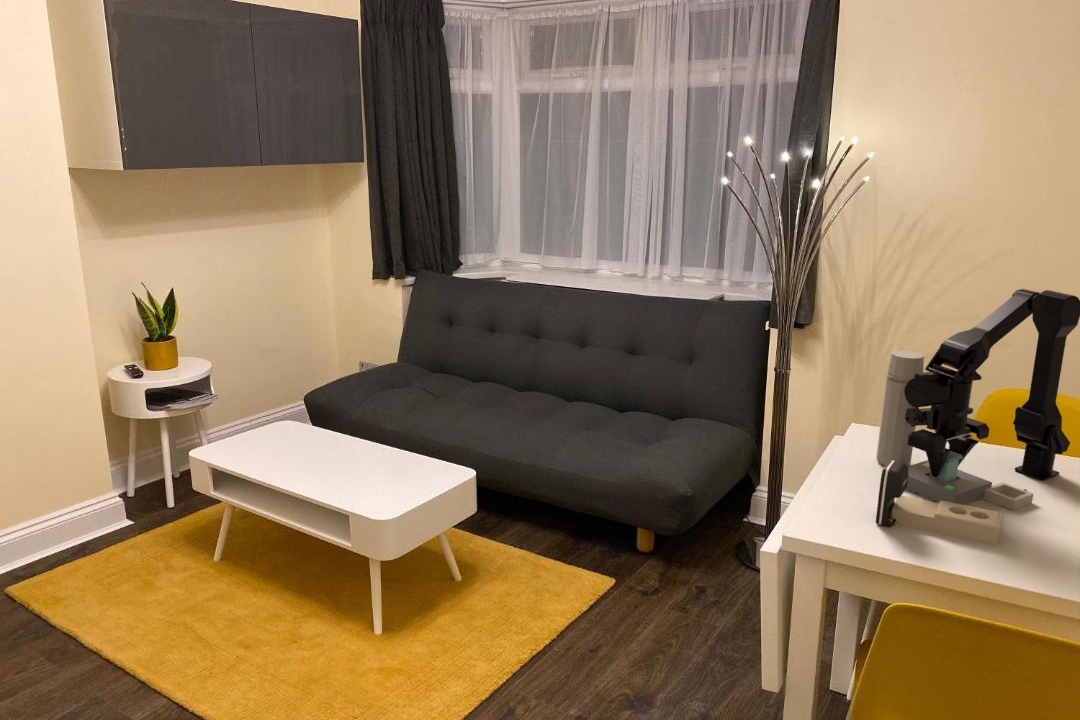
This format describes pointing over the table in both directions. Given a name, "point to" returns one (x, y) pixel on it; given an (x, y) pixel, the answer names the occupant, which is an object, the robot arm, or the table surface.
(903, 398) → the water bottle
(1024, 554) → the table surface
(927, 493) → the port panel
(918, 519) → the electrical outlet
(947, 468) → the plug
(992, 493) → the beige frame with handle
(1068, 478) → the table surface
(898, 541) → the table surface
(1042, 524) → the table surface
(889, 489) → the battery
